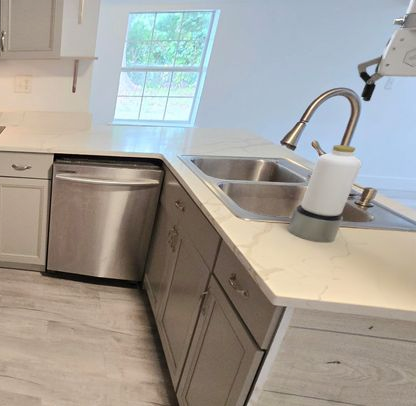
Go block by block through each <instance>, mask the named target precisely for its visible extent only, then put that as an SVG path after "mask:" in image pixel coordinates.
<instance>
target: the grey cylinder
mask: <svg viewBox="0 0 416 406" xmlns="http://www.w3.org/2000/svg"><path fill="white" fill-rule="evenodd" d="M343 220H344V217H343V215H342V213H341V214H339V215H337V216H322V215H317V214H313V213H310V212H308V211H306V210H304V209H303V208H302V205H301V204H299V205H297V206H296V207H295V208H294V210H293V213H292V215H291V218H290V221H289V223H288V226H287V231H288V232H289V233H290V234H291V235H294V236H296V237H298V238H301V239H304V240H308V241H311V242H316V243H331V242H333V241H335V239H336V237H337V235H338V232H339V230H340V227H341V224H342V223H343Z"/></svg>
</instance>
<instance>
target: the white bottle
mask: <svg viewBox="0 0 416 406" xmlns="http://www.w3.org/2000/svg"><path fill="white" fill-rule="evenodd" d="M355 153H356V147H354V146H349V145H343V144H336V145H335V144H334V145H333V147H332V148H331V152H329V153H328V152H327V153H324V154H321V155H319V156H318V157H317V160H316V162H315V165H314V167H313V171H312V173H311V176H310V179H309V180H308V184H307V187H306V190H305V193H304V196H303V198H302V201H301V204H300V205H302V208H303V209H304V210H306V211H308V212H310V213H313V214H317V215H322V216H337V215H339V214H341V215H342V213H343V211H344V208H345V206H346V203H347V201H348V199H349V196H350V194H351V191H352V189H353V186H354V184H355V181H356V179H357V177H358V174H359V172H360V169H361V167H362V161H361V159H360V158H358V157H356V156H354V154H355Z"/></svg>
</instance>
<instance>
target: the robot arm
mask: <svg viewBox="0 0 416 406" xmlns="http://www.w3.org/2000/svg"><path fill="white" fill-rule="evenodd" d="M392 25H393V26H395V25H396V26H398V28H399V29H398V30H397V29H396V30H394V32H393V33H392V34H391V36H390V38H389V39H388V41H387V43H386V45H385V47H384V48H383V51H382V52H381V54H380V56H377V57H374V58H372V59H369V60H366V61H364V62H361V63H358V64H357V65H356V71H357V73H358V77H360V78H361V80H362V81H363V82H364V83H365V84H364V87H363V90H362V92H361V95H360V97H361V98H362V100H363V101H364V102H370V101H371V100H372V96H373V94H374V91H375V89H376V85H377V84H376V82H377V81H379V80H380V79H382V78H383V77H404V78H405V77H406V78H407V77H411V78H414V77H415V78H416V0H410V1H409V4H408V6H407V9H406V11H405V14H403V15H402V16H401V17H395V18H394V19H393V21H392ZM371 66H375V69H374V73H373V74H371V75H370V74H369V73H368V72H367V68H369V67H371Z"/></svg>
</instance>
